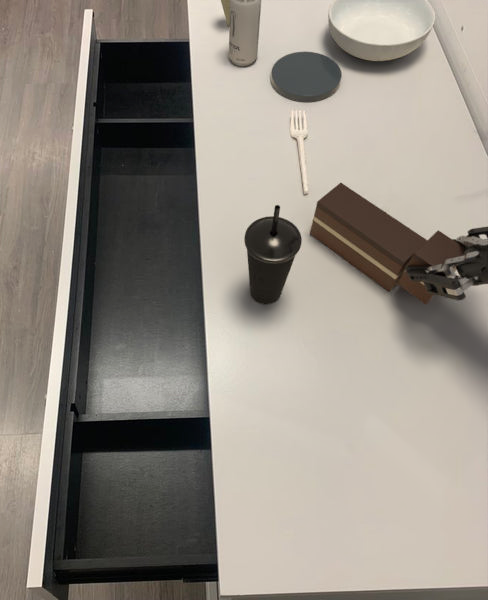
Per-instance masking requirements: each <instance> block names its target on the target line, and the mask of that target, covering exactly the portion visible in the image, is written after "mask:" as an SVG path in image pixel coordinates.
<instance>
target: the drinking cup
mask: <svg viewBox="0 0 488 600" xmlns="http://www.w3.org/2000/svg"><path fill="white" fill-rule="evenodd" d="M280 211H281V206H280V205H279V204H276V205H274V209H273V215H271V216H264V217H261V218H258V219H256V220H254V221H253V222H251V224H249V225H248V227H247V228H246V230H245V233H244V236H243V237H244V240H243V241H244V246H245V249H246V257H247V267H248V268H247V269H248V270H247V271H248V281H249V293H250V296H251V298H252V299H253V300H254V301H255V302H256V303H258V304H260V305H271V304H275V303H276V302H277V301H278V300H279V299H280V298H281V296H280V295H282V293H283V290H284V288H285V285H286V282H287V280H288V276H289V274H290V271H291V269H292V266H293V263H294V261H295V259H296V256H297V255H298V253H299V252H300V249H301V247H302V242H303V240H302V234H301V231H300V230H299V228H298V227H297V226H296V225H295V224H294V223H293V222H292V221H290V220H288V219H286V218H283V217H280Z"/></svg>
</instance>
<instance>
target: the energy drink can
mask: <svg viewBox="0 0 488 600" xmlns="http://www.w3.org/2000/svg"><path fill="white" fill-rule="evenodd" d="M261 10H262V0H230V23H229V27H228V28H229V30H228V31H229V32H228V58H229V60H230V61H231V63H232V64H234V65H236V66H238V67H247V66H250V65H252V64H253V63H254V62H255V61H256V60H257V58H258V55H259V54H258V52H259V40H260V39H259V38H260V23H261V13H262V12H261Z"/></svg>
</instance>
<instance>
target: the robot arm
mask: <svg viewBox="0 0 488 600" xmlns="http://www.w3.org/2000/svg"><path fill="white" fill-rule="evenodd" d="M481 235H485V237H486V238H481ZM451 239H452V240H454V241H455V242H457V243H458V244H460V245H462V246H463V247H465V248H466V249H467V250H466V251H465V252H464V254H463V255H462V256H460V257H455V258H450V259H446V260H445V261H444V263H443V264H438V265H433V266H424V265H409V266H407V267H406V268H405V271H406V273H407V275H408V277H409V279H410V280H411V281H416V282H423V283H424V285H425V287H426V290H427V292H428V293H429V294H433V295H435V296H438V297H442V298H446V299H450V300H453V301H462V300H464V299H466V297H467V296H466V293H465V291H467V290H468V289H469V288H470V287H471V286H472V287H477V286H478V287H479V286H482V285H488V226H481V227H474V228H470V229H469V230H468V231H467V235H459V236H458V237H456V238H451ZM455 265H456V269H457V270H456V271H457V274H458V275H457V274H456V271H455V272H454V269H453V267H452V266H455ZM441 271H443V272H445V274H446V276H445V277H443V276H438V274H437V272H441Z"/></svg>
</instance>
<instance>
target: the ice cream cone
mask: <svg viewBox="0 0 488 600" xmlns="http://www.w3.org/2000/svg"><path fill="white" fill-rule="evenodd" d="M220 2H221V7H222V10H223V14H224V17H225V22H226V26H227V28H229V23H230V0H220Z"/></svg>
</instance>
